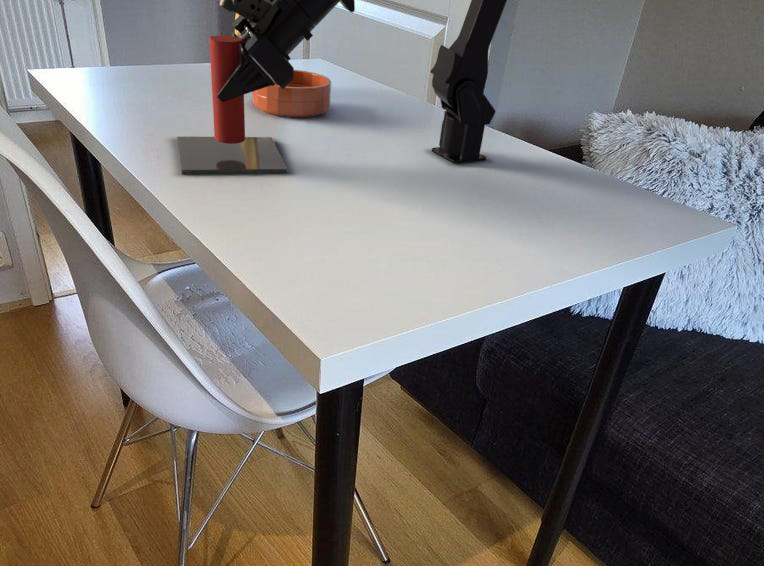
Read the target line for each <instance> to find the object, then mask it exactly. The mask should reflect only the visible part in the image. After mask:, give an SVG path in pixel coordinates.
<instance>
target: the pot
mask: <svg viewBox="0 0 764 566" xmlns="http://www.w3.org/2000/svg"><path fill="white" fill-rule="evenodd" d="M272 79H273V78H272ZM273 80H274V79H273ZM274 82H275V81H274ZM275 83H276V82H275ZM331 94H332V81H331V79H330V78H329V77H327V76H325V75H323V74H320V73H316V72H314V71H313V72H312V71H307V70H302V69H301V70H300V69H294V78H293V80H292V81H291V82H290V83H289V84H288V85H287V86H286V87H285V88H284V89H282V88H281V87H280V86H279V85H278V84H277V83H276V84H275V85H274V86H272V85H271V86H268V87H265V88H262V89H259V90H256V91H253V92H251V98H252V100H251V101H252V104H253V106H255V107H256V108H257V109H259V110H261V111H263V112H265V113H267V114H271V115H274V116H280V117H288V118H311V117H317V116H320V115H322V114H325V112H328V111H329V110H330V108H331V99H332V97H331Z"/></svg>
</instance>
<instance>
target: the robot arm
mask: <svg viewBox="0 0 764 566" xmlns="http://www.w3.org/2000/svg"><path fill="white" fill-rule="evenodd" d="M216 1H217V2H218V5H219V6H220V7H221V8H222V9H224V10H226V11H228V12H233V13H234V14H236V13H237V14H239V17H238V18H237V19H236V20H235V19H234V21H233V22H231V26H232V27H233V29H234V30H235V29H236V30H238V31H239V33H240V35H239V36H237V35H236V34H235V31H232V33H231V36H233V37H238V38H241V39H242V46H243V47H242V46H241V44H239V63H238V64H237V66H236V67H235V69H234V70H233V72H232V73H231V75H230V76H229V78H228V79H227V81H226V82H225V84H224V85H223V87H222V88H221V90H220V91H219V93H218V94H217V97H218V98H219V99H220V100H221V101H222V102H225V101H228V100H231V99H233V98H236V97H239V96H242V95H244V96H245V95H246V94H249V93H252V92H253V91H256V90H259V89H262V88H265V87H268V86H271V85H272V86H274V85H275V84H276V83H277V84H278V85H279V86H280V87H281V88H282V89H284V88H285V87H286V86H287V85H288V84H289V83H290V82H291V81H292V80H293V78H294V70H295V69H294V66H293V65H292V64H291V63H290V60H291V57H290V54H291V53H292V52H293V51H294V50H295V49H296V48H297V47H298V46H299V44H300V43H302V41H303V40H304V39H305V40H306V41H307V42H308V41H309V40H311V39H312V37H313V36H314V35H313V34H312V31H313V30H314V29H315V28H316V27H317V26H318V25H319V24H320V23H321V22H322V21H323V20H324V19H325V18H326V16H328V14H329V13H331V11H332V10H333V9H334V8H335V7H336V6H337V5H338V4H339V3H340V5H342V7H343V8H345V10H347V11H349V12H350V13H354V12H355V10H356V7H355V5H356V4H355V3H356V2H355V0H216ZM507 2H508V0H470V3H469V6H468V9H467V13H466V14H465V18H464V21H463V22H462V26H461V28H460V31H459V34H458V36H457V38H456V39H455V40H454V42H453V43H451V45H450V46H449V48H448V47H447V46H445V45H443V44H441V45H440V46H439V49H438V51H437V57H436V60H435V63H434V65H433V67H432V69H430V71H429V72H430V73H431V74H432V79H431V86H432V89H433V91H434V94H435V95H436V96H437V97H438V99H439V100H440V106H441V109H442V110H445V111H444V115H443V120H442V122H441V129H440V136H439V144H438V146H436V147H432V148H431V153H433V154H436V155H437V156H439V157H441V158H443V159H444V160H447V161H449V162H450V163H452V164H454V165H458V164H460V165H461V164H467V163H474V162H482V161H487V157H488V156H486V155H484V154H482V153H481V149H482V144H483V138H484V132H485V127H486V125H487V126H488V125H490V124H491V123H492V120H493V119H494V116H495V114H496V109H495V108H494V107H493V104H491V102H490V101H489V99H488V98H487V97H486V95H485V93H484V92H485V87H486V84H487V79H488V75H489V50H490V46H491V44H492V41H493V38H494V36H495V33H496V30H497V28H498V25H499V23H500V21H501V17H502V15H503V12H504V10H505V6H506V5H507ZM272 78H273V79H274V80H273V79H272ZM274 81H275V82H276V83H275V82H274Z"/></svg>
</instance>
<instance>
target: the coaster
mask: <svg viewBox="0 0 764 566" xmlns="http://www.w3.org/2000/svg"><path fill="white" fill-rule="evenodd" d="M176 141H177V142H176V143H177V148H178V156H179V163H180V170H181V174H182V175H217V174H218V175H233V174H234V175H236V174H239V175H241V174H246V175H247V174H288V168H287V165H286V164H285V162H284V160H283V158H282V155H281V154H280V152H279V149H278V148H277V145H276V144H275V141H274V139H273V137H272V136H245V141H243V142H241V143H236V144H227V143H221V142H218V141H216V140H215V136H176Z"/></svg>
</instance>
